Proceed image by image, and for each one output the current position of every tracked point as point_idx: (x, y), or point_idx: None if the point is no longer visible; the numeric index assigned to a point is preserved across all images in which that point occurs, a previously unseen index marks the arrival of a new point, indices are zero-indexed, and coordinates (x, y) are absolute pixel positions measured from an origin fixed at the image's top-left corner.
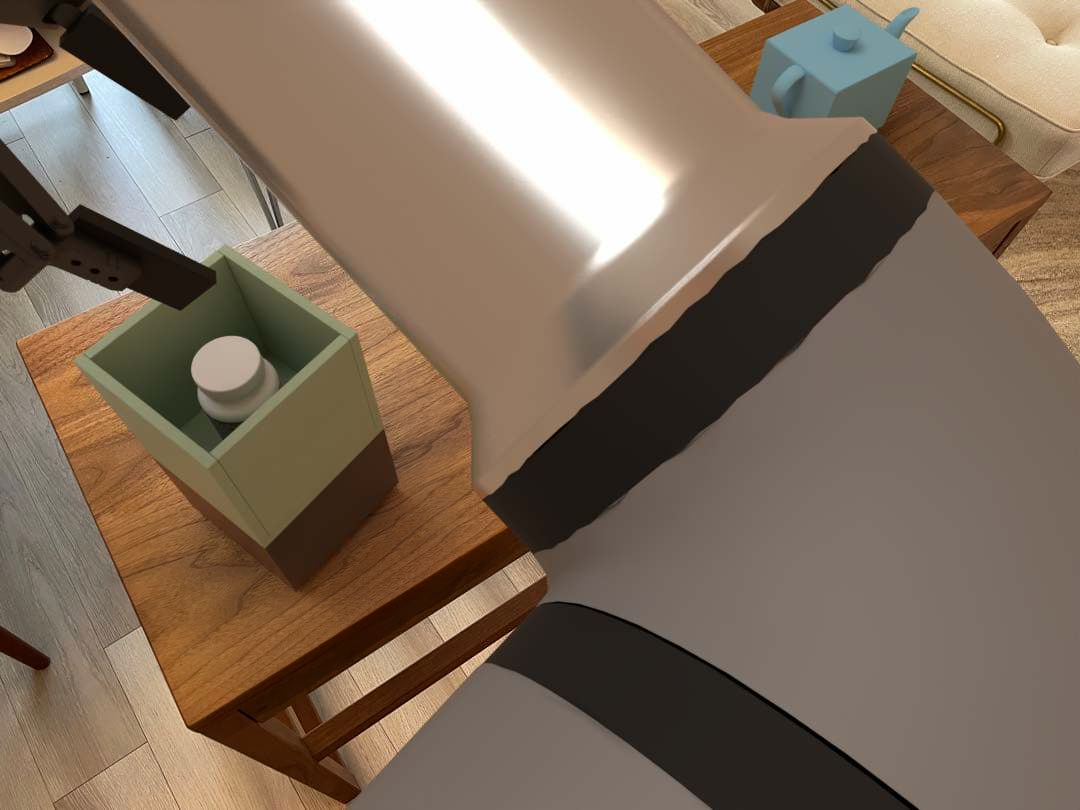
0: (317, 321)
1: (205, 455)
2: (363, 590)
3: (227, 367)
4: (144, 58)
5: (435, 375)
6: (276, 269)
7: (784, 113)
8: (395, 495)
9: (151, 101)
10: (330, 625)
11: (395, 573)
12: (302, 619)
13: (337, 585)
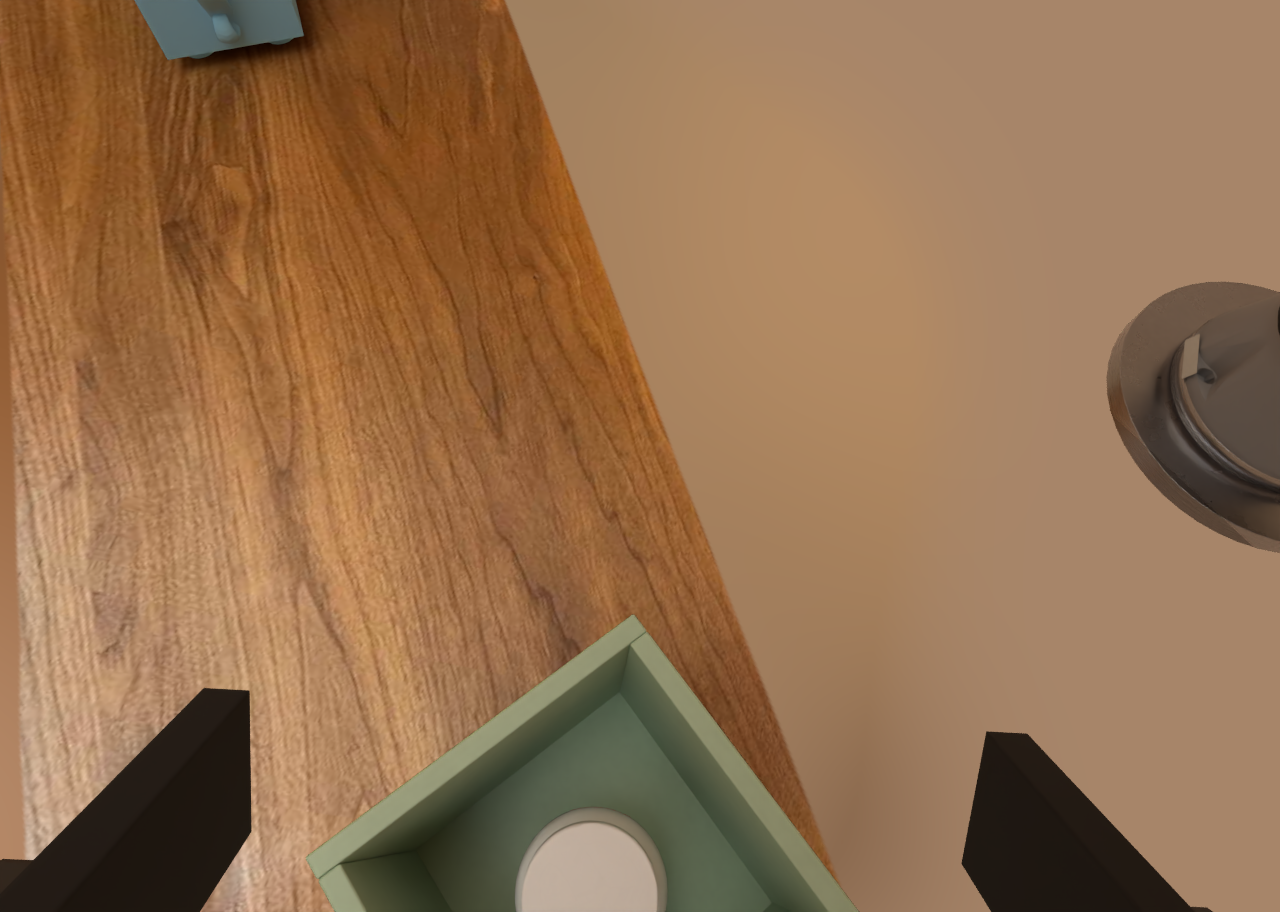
0: (577, 685)
1: None
2: (769, 783)
3: (602, 894)
4: (139, 849)
5: (450, 605)
6: None
7: (226, 3)
8: None
9: (206, 888)
10: (810, 841)
11: (754, 733)
12: None
13: None
